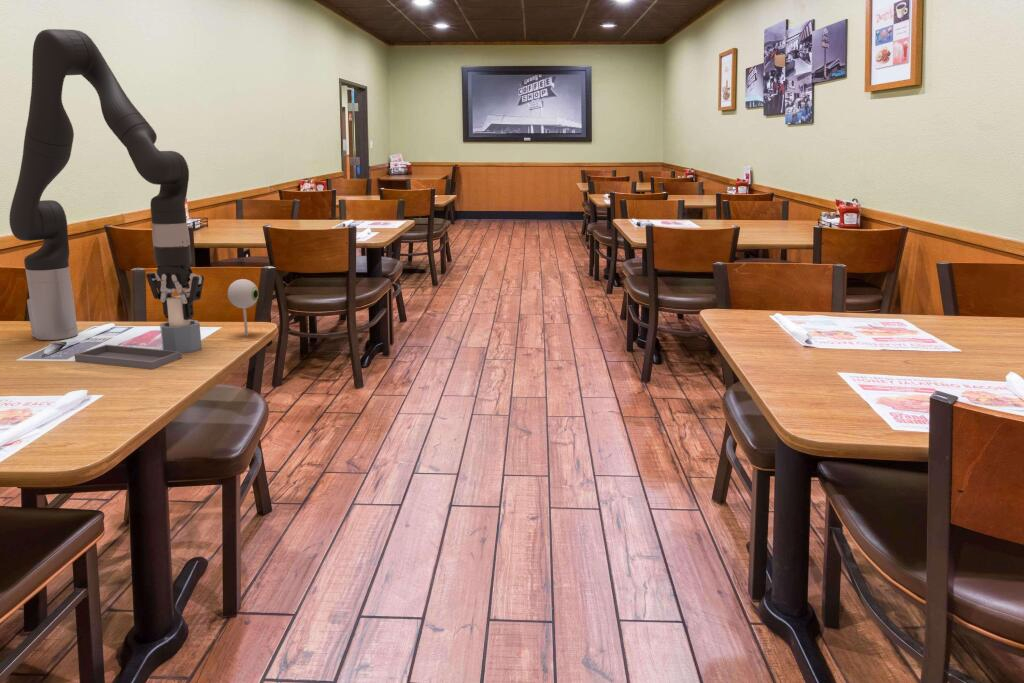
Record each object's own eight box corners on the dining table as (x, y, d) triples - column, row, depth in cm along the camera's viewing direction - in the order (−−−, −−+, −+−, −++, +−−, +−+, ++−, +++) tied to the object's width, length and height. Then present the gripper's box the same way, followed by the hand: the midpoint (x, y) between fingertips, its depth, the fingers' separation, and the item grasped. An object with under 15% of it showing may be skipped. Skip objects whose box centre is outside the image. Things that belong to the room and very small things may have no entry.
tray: (75, 365, 167) (74, 354, 167) (107, 355, 176) (106, 344, 175) (153, 373, 162) (151, 362, 162) (182, 362, 171) (180, 351, 170)
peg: (167, 350, 176) (162, 299, 173) (180, 346, 180) (175, 295, 177) (183, 352, 175) (178, 300, 172) (196, 347, 179) (191, 296, 176)
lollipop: (252, 343, 187) (247, 282, 183) (225, 341, 189) (220, 281, 185) (267, 336, 194) (262, 277, 190) (241, 334, 195) (236, 276, 192)
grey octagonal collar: (155, 356, 175) (152, 326, 174) (179, 347, 183) (176, 318, 181) (185, 359, 173) (182, 328, 171) (208, 350, 181) (206, 321, 179)
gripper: (132, 244, 170) (141, 319, 174) (187, 246, 166) (195, 324, 171) (156, 240, 177) (164, 313, 181) (210, 242, 173) (216, 317, 178)
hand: (179, 318), depth 176 cm, fingers closed on peg, 4 cm apart
